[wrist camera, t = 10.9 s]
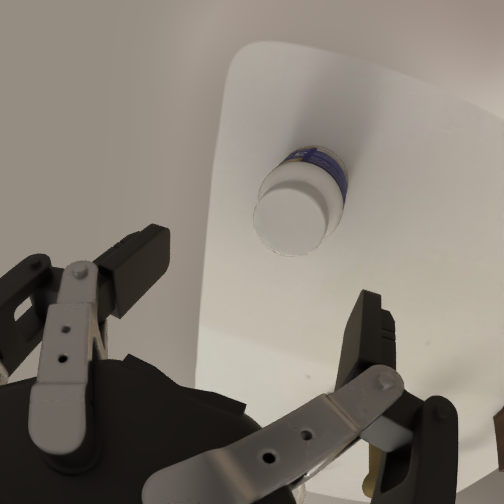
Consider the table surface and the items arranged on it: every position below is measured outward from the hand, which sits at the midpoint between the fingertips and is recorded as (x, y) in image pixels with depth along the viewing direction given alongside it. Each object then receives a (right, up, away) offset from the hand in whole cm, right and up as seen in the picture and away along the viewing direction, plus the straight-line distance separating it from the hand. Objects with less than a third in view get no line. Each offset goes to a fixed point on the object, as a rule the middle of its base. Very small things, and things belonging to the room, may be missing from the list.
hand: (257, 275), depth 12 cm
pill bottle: (+5, +7, +12) cm, 14 cm away
